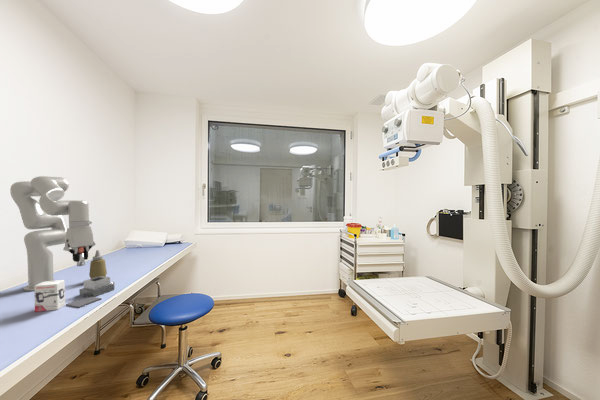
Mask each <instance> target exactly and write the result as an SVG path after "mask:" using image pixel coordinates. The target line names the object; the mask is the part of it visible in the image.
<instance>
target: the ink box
mask: <svg viewBox="0 0 600 400" xmlns="http://www.w3.org/2000/svg"><path fill="white" fill-rule="evenodd" d="M65 283H66V282H65V280H64V279H60V280H58V279H57V280H54V281H45V282H42V283H39V284H37V285H35V286H34V312H35V313H38V312H45V311H47V312H48V311H56V310H60V309H61V308H63V307H64V306H66V287H65V286H66V285H65Z"/></svg>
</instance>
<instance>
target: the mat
mask: <svg viewBox="0 0 600 400" xmlns="http://www.w3.org/2000/svg"><path fill="white" fill-rule="evenodd" d="M101 300H102V297H98V296H96V297H91V296H88V297H87V296H84V297H82V298H80V299H76V300H73V301H72V302H68V303H65V306H66V307H67V306H68V307H73V308H77V309H78V308H79V309H81V308H84V307H86V306H87V305H91V304H93V303H96V302H98V301H101ZM85 305H86V306H85ZM80 307H81V308H80Z"/></svg>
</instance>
